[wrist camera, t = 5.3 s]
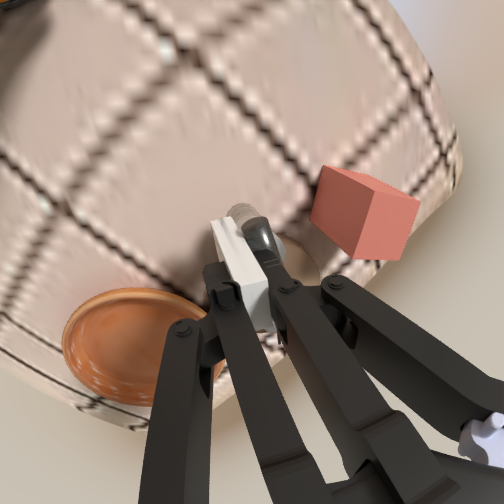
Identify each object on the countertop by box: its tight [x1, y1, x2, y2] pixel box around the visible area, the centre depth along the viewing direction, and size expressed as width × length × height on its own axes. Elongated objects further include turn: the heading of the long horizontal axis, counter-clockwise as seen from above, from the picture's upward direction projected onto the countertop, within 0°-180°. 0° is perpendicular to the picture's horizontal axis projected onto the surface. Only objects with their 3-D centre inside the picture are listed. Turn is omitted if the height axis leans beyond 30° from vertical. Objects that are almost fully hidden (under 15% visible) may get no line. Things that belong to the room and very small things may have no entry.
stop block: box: [309, 165, 420, 260], centre depth 22 cm, size 5×5×7 cm
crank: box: [226, 203, 286, 333], centre depth 20 cm, size 12×4×6 cm, turn 20°
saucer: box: [62, 288, 225, 407], centre depth 26 cm, size 16×16×3 cm
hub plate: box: [256, 234, 320, 333], centre depth 26 cm, size 9×9×3 cm
